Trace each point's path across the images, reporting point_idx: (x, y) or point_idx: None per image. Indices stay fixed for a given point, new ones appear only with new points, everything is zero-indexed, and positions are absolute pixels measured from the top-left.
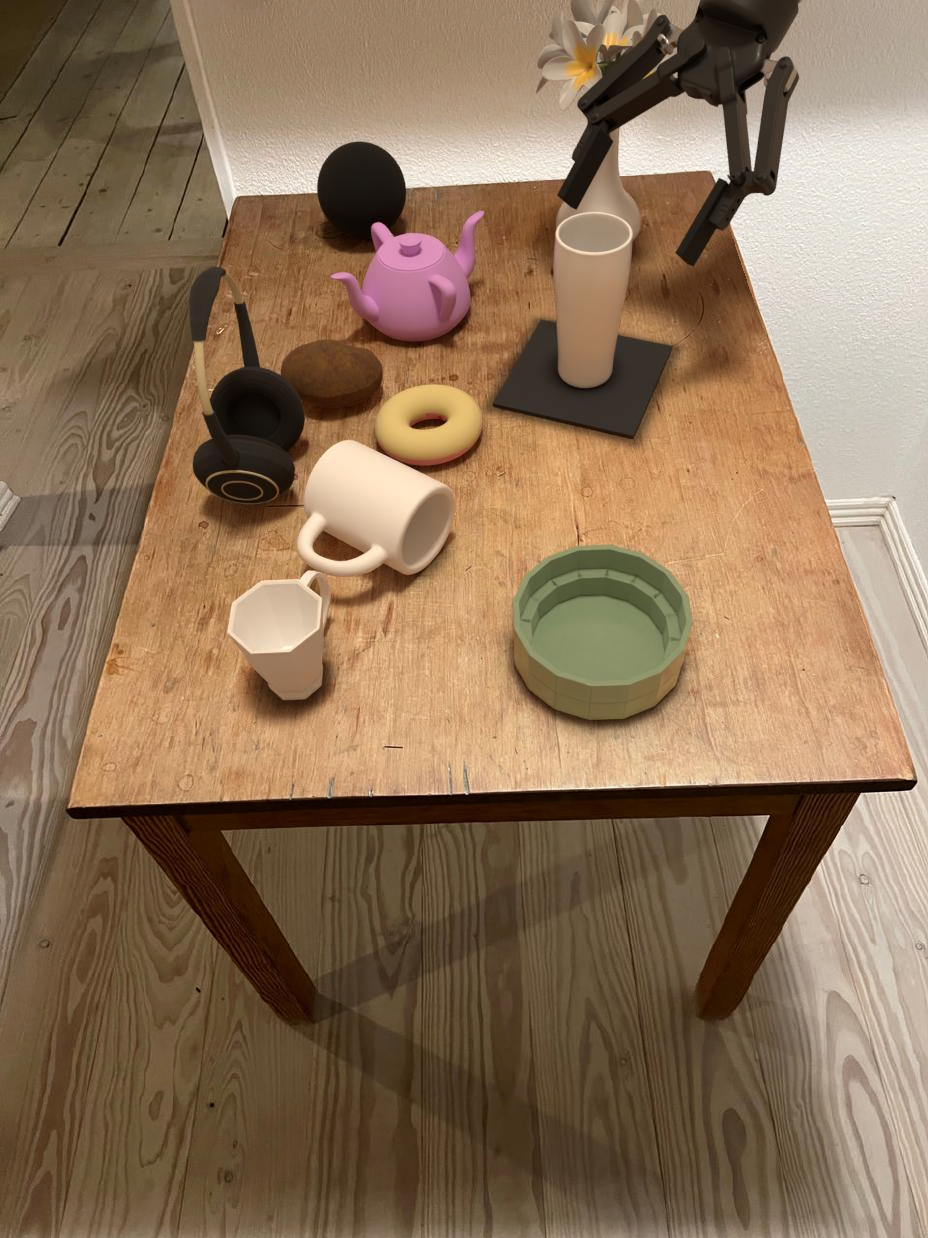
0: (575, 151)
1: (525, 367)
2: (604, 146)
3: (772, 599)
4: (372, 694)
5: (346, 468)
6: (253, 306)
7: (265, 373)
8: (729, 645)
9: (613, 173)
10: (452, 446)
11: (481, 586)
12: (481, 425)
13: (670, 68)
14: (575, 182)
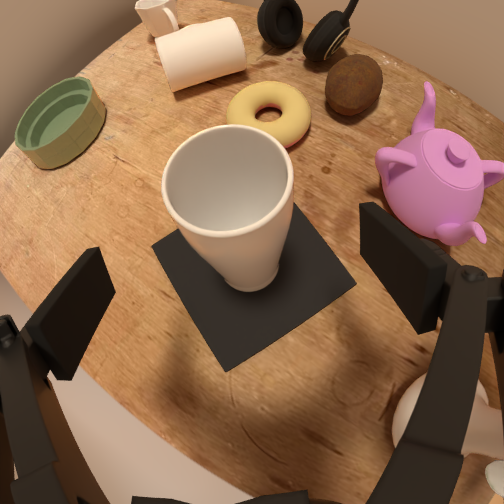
0: (430, 244)
1: (296, 223)
2: (410, 301)
3: (16, 226)
4: (135, 53)
5: (210, 22)
6: (473, 117)
7: (328, 18)
8: (22, 188)
9: None
10: (227, 109)
11: (137, 100)
12: None
13: (391, 490)
14: (373, 227)
